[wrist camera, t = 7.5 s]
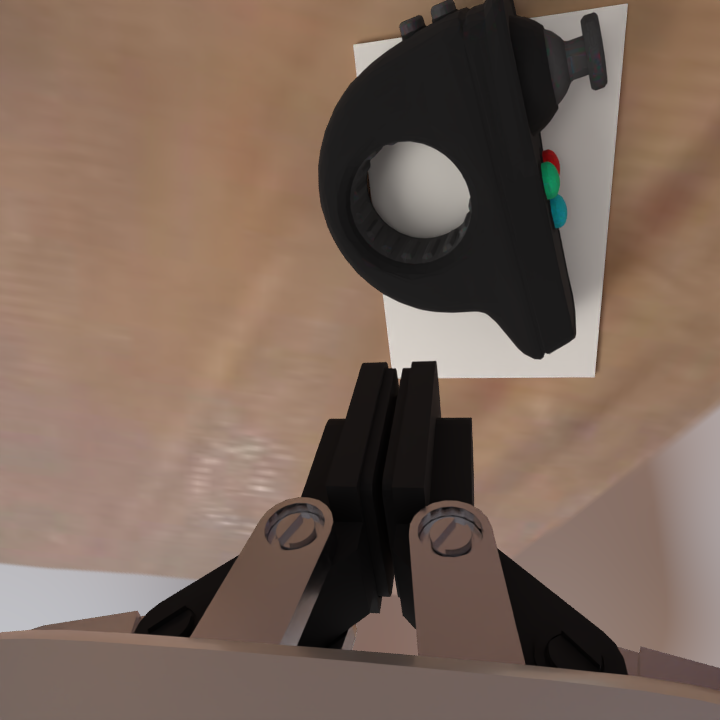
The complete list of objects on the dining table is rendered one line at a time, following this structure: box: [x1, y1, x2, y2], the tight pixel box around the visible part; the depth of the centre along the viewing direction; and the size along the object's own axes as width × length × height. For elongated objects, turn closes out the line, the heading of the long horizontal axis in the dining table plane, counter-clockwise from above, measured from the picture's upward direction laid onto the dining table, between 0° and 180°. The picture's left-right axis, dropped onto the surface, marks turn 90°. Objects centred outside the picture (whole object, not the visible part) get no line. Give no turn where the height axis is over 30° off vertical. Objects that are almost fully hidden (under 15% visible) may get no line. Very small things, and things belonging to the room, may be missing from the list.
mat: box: [353, 3, 628, 378], centre depth 22 cm, size 14×9×1 cm, turn 8°
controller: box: [318, 0, 608, 360], centre depth 20 cm, size 4×12×10 cm
